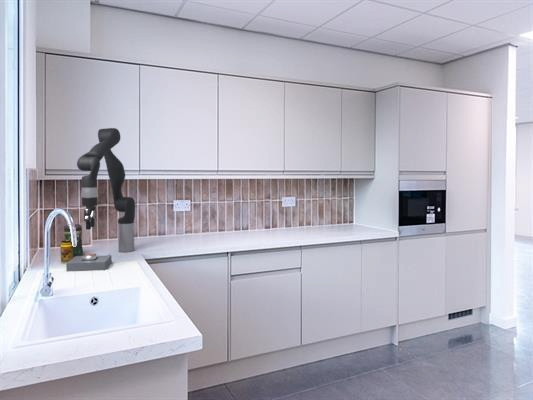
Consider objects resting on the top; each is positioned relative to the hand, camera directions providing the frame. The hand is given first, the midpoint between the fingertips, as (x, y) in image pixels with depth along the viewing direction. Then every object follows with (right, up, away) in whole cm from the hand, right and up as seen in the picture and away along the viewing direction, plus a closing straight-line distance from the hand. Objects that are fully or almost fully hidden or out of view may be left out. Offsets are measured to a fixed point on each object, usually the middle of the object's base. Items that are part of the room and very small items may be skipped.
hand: (90, 228), depth 203 cm
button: (-1, -18, +2) cm, 18 cm away
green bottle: (-20, -18, +24) cm, 37 cm away
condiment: (-18, -19, +13) cm, 29 cm away
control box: (-1, -20, +2) cm, 20 cm away
